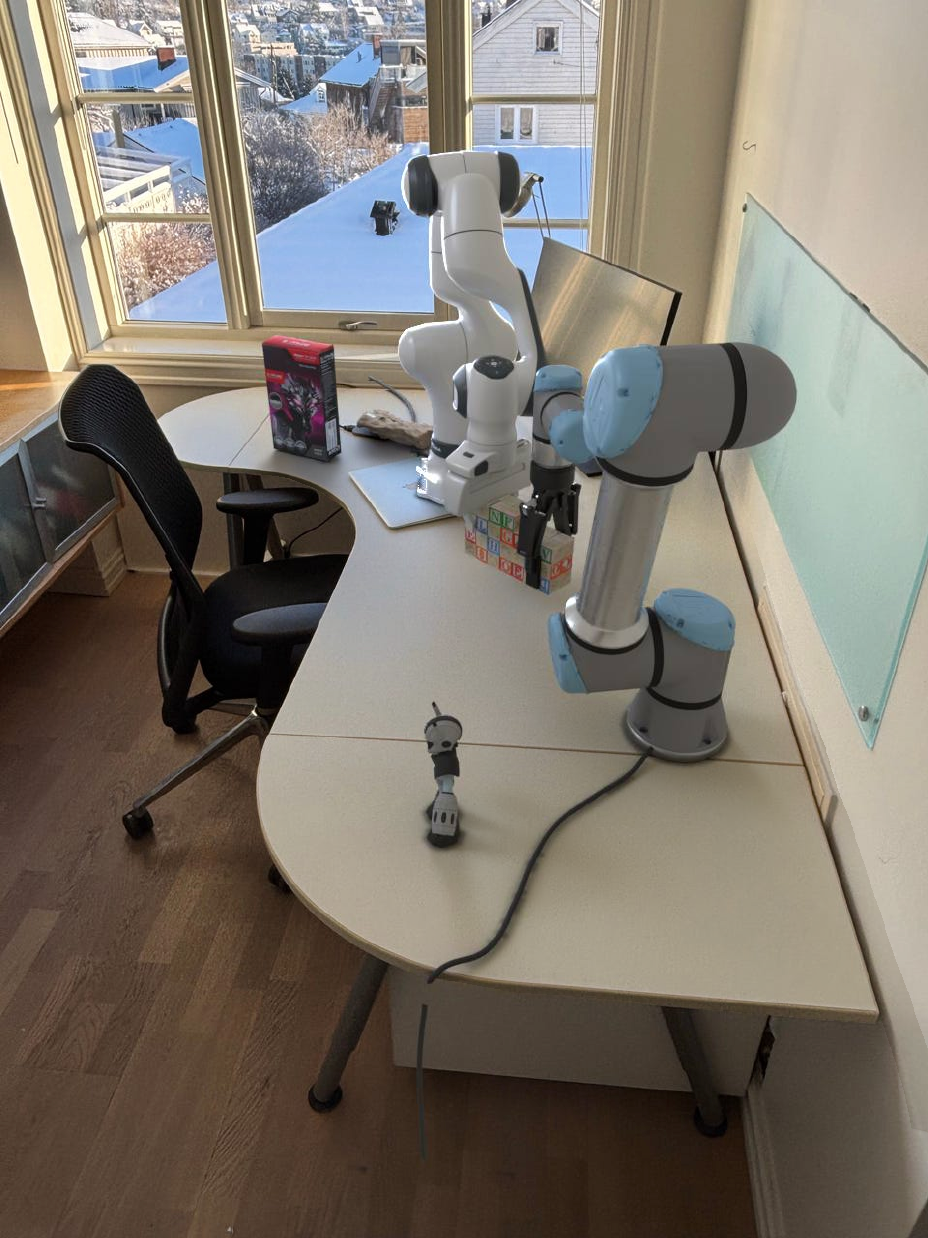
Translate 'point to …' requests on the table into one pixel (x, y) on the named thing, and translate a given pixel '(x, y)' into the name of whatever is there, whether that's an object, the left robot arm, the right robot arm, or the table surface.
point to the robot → (443, 777)
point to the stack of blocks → (500, 544)
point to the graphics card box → (302, 396)
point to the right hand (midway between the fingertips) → (545, 578)
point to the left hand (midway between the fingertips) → (489, 520)
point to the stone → (396, 428)
